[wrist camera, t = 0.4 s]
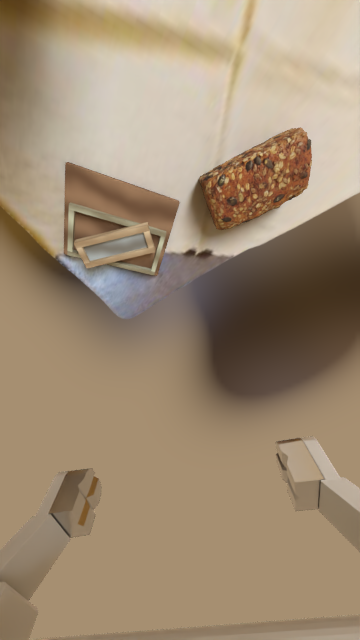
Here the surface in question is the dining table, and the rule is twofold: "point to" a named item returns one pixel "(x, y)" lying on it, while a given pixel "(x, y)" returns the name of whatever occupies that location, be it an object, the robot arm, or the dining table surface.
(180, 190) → the dining table surface
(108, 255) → the frame
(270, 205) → the bread
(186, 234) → the dining table surface
